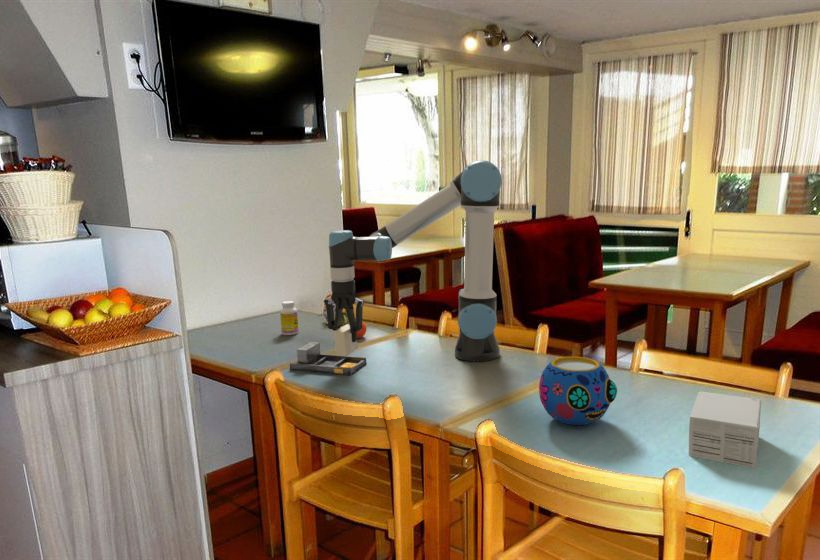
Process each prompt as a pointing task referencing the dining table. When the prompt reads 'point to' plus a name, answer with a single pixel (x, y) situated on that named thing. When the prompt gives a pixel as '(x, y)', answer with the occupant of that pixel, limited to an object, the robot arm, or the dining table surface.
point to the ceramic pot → (576, 390)
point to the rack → (325, 361)
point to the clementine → (362, 331)
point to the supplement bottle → (289, 318)
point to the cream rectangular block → (342, 341)
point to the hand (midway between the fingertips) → (346, 350)
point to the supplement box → (725, 428)
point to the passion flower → (334, 314)
